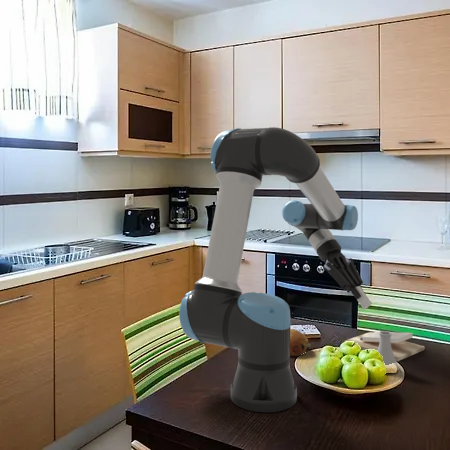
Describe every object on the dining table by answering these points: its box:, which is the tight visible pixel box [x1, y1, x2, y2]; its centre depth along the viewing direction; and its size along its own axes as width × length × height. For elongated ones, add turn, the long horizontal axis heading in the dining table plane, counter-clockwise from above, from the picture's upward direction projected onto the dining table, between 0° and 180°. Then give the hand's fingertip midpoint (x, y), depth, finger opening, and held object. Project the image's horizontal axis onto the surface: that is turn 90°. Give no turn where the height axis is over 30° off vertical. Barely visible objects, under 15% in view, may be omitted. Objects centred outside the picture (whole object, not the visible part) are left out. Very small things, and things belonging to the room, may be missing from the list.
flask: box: [377, 330, 397, 365], centre depth 134 cm, size 7×7×10 cm
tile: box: [360, 331, 413, 344], centre depth 151 cm, size 8×1×12 cm
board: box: [343, 331, 426, 362], centre depth 152 cm, size 14×18×1 cm
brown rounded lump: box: [290, 328, 312, 357], centre depth 149 cm, size 10×10×8 cm
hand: (367, 306), depth 155 cm, fingers closed
